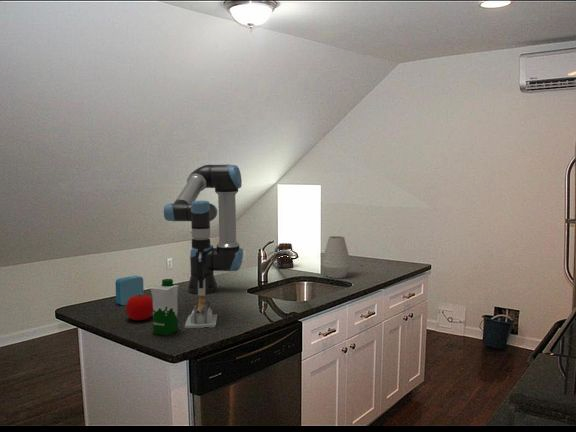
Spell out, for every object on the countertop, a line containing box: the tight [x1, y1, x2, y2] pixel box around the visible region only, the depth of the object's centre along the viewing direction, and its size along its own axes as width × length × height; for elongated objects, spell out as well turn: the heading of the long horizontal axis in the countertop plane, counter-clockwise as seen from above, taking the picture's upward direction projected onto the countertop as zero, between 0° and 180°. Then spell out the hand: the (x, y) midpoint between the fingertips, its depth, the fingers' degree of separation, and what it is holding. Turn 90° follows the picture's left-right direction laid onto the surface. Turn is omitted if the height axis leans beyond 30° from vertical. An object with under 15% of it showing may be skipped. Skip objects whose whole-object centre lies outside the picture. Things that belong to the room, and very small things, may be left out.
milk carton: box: [149, 278, 179, 337], centre depth 188 cm, size 9×9×20 cm
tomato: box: [125, 294, 153, 321], centre depth 205 cm, size 11×12×10 cm
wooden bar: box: [197, 295, 206, 313], centre depth 201 cm, size 11×3×2 cm, turn 5°
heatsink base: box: [184, 300, 218, 329], centre depth 201 cm, size 14×12×8 cm
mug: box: [274, 242, 294, 270], centre depth 309 cm, size 16×11×15 cm
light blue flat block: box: [115, 275, 145, 306], centre depth 230 cm, size 12×4×12 cm, turn 139°
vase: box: [320, 235, 352, 279], centre depth 285 cm, size 18×17×23 cm
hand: (201, 294), depth 203 cm, fingers open, 2 cm apart
